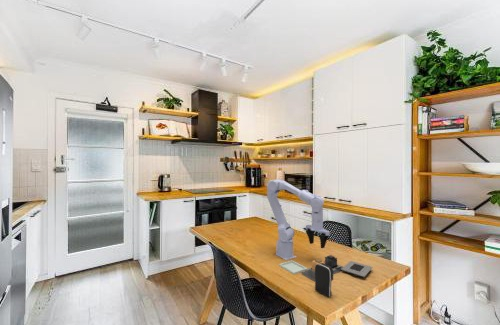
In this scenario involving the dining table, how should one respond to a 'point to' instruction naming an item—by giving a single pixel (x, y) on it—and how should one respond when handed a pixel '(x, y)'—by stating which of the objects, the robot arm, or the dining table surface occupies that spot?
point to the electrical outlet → (356, 269)
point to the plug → (316, 263)
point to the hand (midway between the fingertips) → (317, 245)
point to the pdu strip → (306, 273)
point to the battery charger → (323, 279)
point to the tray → (293, 267)
